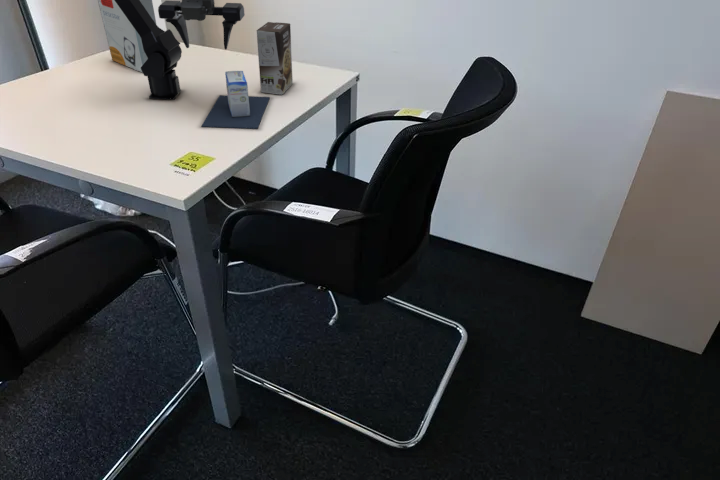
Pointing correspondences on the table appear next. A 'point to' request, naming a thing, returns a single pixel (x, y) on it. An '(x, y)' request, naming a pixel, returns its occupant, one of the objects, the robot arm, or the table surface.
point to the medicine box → (237, 93)
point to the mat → (224, 119)
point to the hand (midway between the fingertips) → (207, 48)
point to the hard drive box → (124, 34)
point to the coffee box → (275, 57)
